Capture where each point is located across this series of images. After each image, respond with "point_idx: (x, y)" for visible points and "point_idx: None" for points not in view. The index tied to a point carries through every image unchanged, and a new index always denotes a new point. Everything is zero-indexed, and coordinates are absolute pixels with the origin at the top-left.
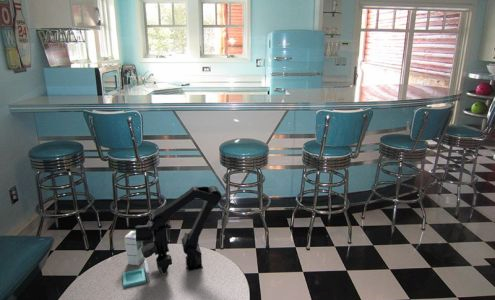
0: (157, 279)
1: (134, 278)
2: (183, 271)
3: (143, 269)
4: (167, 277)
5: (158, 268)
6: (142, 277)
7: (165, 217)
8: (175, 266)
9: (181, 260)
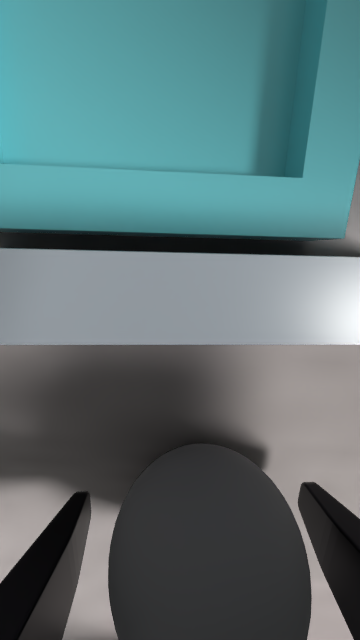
0: (30, 393)
1: (129, 6)
2: (106, 621)
3: (306, 223)
4: (43, 497)
5: (152, 494)
6: (34, 167)
7: None
8: None
9: None
